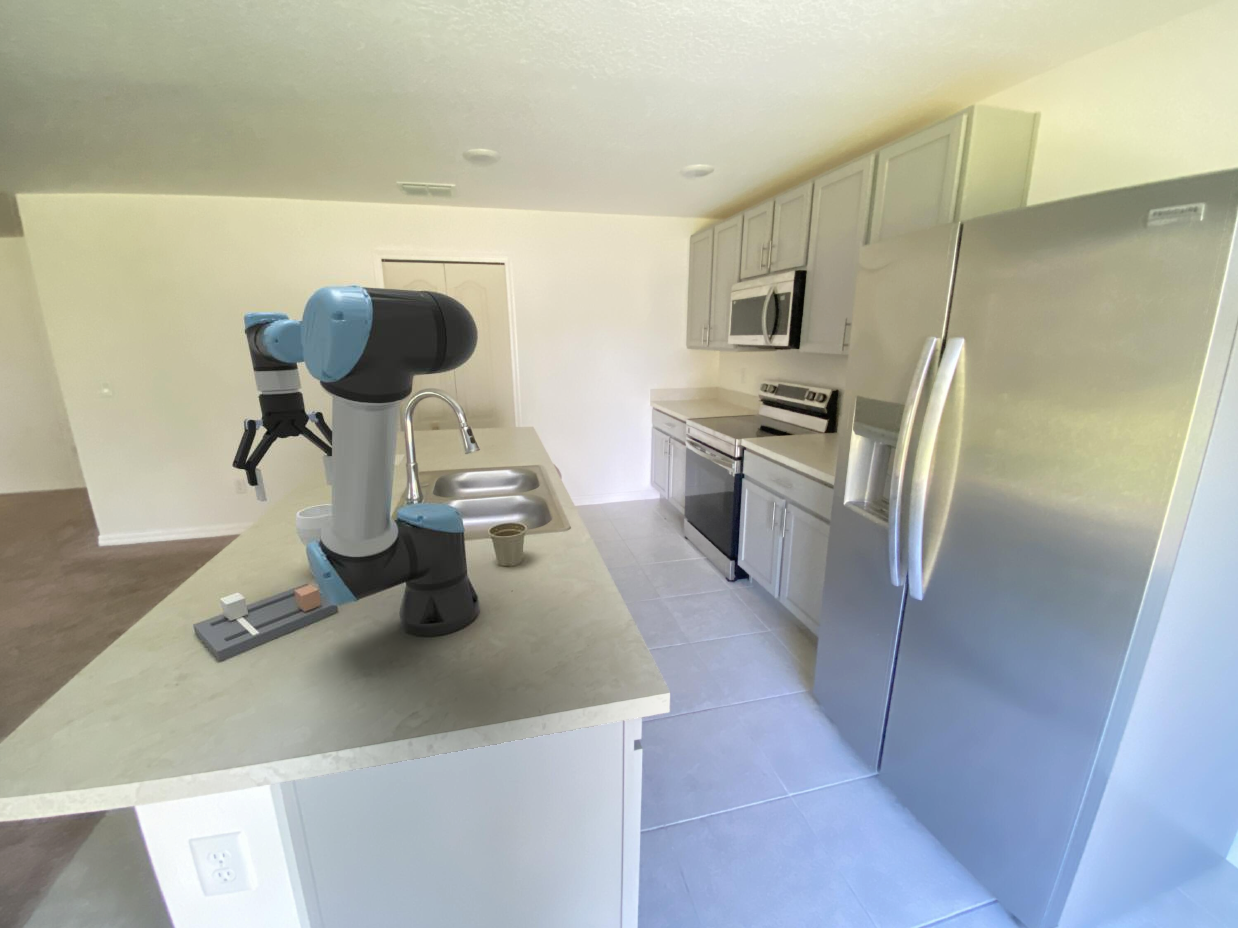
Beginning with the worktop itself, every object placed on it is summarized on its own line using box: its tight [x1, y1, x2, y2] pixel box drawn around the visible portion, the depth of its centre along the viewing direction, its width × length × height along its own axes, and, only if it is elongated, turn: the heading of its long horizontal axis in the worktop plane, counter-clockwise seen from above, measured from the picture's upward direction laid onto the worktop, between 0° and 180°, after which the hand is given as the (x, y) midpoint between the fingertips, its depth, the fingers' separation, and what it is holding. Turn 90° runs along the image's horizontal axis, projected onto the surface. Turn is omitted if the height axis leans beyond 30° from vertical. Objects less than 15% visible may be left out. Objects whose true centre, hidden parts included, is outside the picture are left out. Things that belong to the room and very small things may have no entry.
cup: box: [295, 503, 332, 575], centre depth 120 cm, size 11×11×15 cm
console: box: [192, 583, 339, 663], centre depth 99 cm, size 14×20×2 cm
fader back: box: [219, 592, 248, 621], centre depth 97 cm, size 4×3×4 cm
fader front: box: [294, 584, 321, 612], centre depth 100 cm, size 4×3×4 cm
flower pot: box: [487, 522, 528, 567], centre depth 124 cm, size 9×9×9 cm
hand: (298, 492), depth 106 cm, fingers open, 13 cm apart
